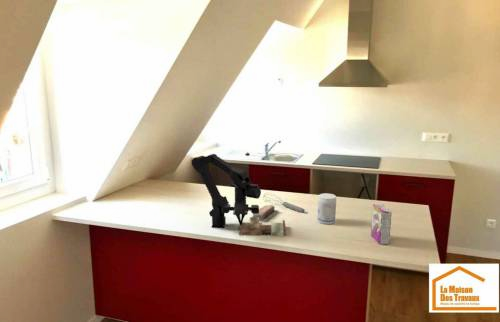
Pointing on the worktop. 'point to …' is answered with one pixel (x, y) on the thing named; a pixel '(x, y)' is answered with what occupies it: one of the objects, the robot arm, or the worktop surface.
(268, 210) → the packaged product
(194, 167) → the robot arm
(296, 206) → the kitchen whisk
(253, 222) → the birch block
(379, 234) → the candy bar box
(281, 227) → the trap deck
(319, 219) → the supplement tub
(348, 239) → the worktop surface
